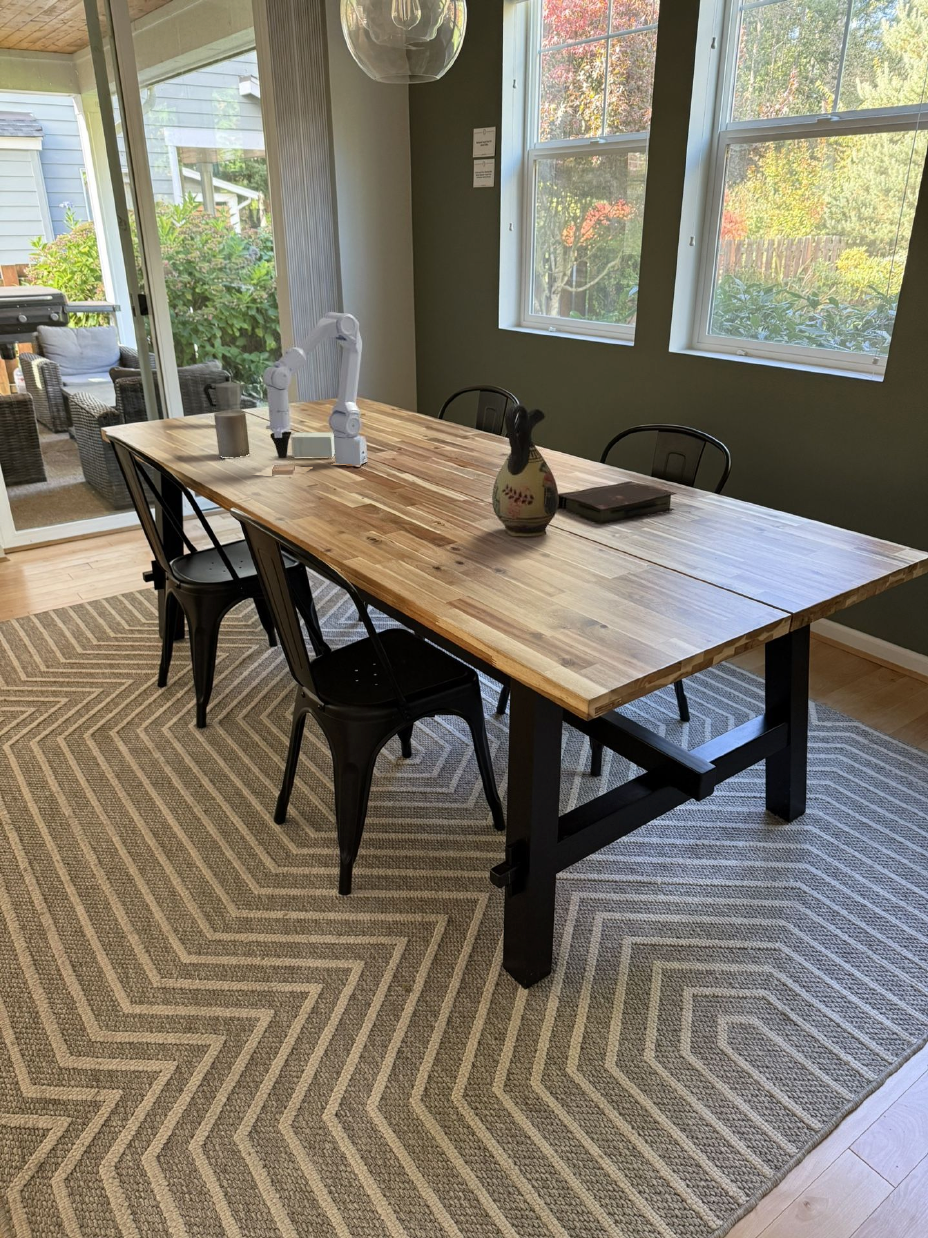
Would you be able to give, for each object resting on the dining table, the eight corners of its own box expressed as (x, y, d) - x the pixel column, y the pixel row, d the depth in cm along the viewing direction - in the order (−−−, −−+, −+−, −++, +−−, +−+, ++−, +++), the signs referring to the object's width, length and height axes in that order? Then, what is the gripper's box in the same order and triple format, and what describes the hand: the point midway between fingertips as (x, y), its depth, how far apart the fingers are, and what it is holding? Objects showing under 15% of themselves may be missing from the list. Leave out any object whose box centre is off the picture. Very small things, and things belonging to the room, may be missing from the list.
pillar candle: (254, 453, 286) (249, 406, 280) (244, 459, 277) (239, 411, 271) (225, 452, 287) (219, 405, 281) (214, 459, 278) (208, 411, 272)
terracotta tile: (274, 465, 261) (271, 470, 255) (294, 465, 261) (292, 469, 256) (274, 471, 262) (272, 476, 256) (295, 471, 262) (293, 475, 256)
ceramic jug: (517, 518, 219) (520, 395, 207) (569, 530, 210) (576, 402, 198) (473, 534, 207) (474, 404, 195) (527, 548, 198) (532, 412, 186)
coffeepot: (250, 423, 333) (245, 374, 326) (250, 428, 325) (245, 377, 318) (208, 425, 330) (202, 375, 323) (207, 429, 322) (201, 378, 315)
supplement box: (292, 459, 277) (332, 459, 277) (290, 436, 274) (330, 436, 274) (297, 455, 284) (336, 455, 284) (295, 431, 281) (335, 431, 281)
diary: (554, 510, 228) (555, 491, 226) (627, 497, 240) (628, 479, 238) (602, 527, 213) (603, 507, 211) (677, 512, 226) (679, 493, 224)
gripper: (267, 406, 259) (271, 452, 264) (261, 415, 245) (265, 463, 251) (292, 405, 259) (295, 452, 264) (287, 414, 246) (291, 463, 251)
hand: (282, 457), depth 258 cm, fingers closed
